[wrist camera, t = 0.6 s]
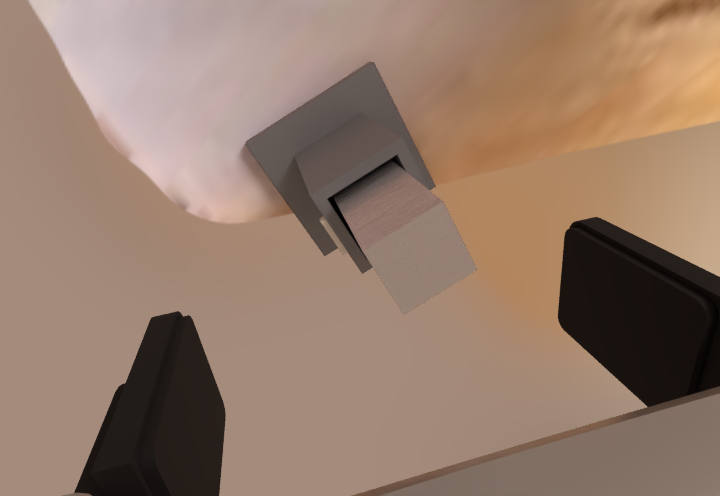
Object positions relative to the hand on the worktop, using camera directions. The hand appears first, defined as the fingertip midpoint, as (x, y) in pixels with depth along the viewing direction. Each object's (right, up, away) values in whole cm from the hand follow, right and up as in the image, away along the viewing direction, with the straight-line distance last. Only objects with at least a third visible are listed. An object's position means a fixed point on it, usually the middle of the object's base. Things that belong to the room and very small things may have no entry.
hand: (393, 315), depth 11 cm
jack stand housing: (-2, +10, +31) cm, 32 cm away
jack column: (-2, +9, +29) cm, 31 cm away
